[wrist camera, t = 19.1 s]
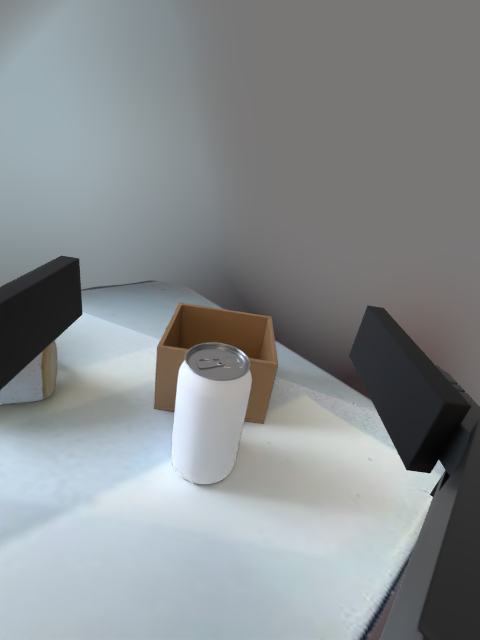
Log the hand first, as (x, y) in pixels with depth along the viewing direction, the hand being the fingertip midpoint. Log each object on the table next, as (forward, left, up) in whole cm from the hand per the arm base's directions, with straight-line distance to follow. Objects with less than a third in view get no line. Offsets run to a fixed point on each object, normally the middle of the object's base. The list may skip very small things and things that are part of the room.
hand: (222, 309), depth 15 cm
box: (+12, +18, -21) cm, 30 cm away
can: (+6, +8, -21) cm, 23 cm away
